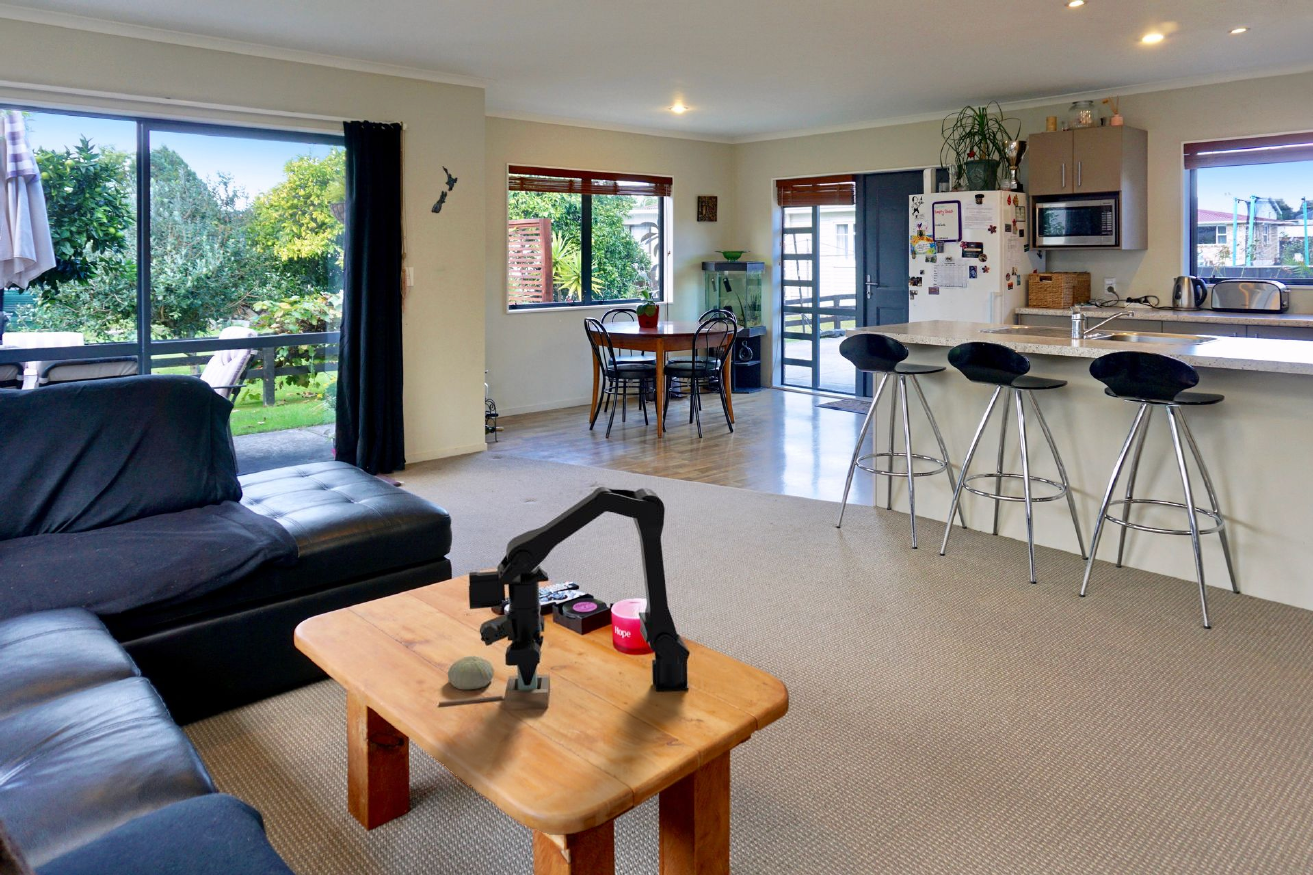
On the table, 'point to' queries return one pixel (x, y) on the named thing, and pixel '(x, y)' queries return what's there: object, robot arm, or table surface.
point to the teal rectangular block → (527, 687)
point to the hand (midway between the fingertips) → (528, 680)
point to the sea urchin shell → (470, 673)
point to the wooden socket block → (527, 694)
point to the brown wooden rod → (470, 700)
